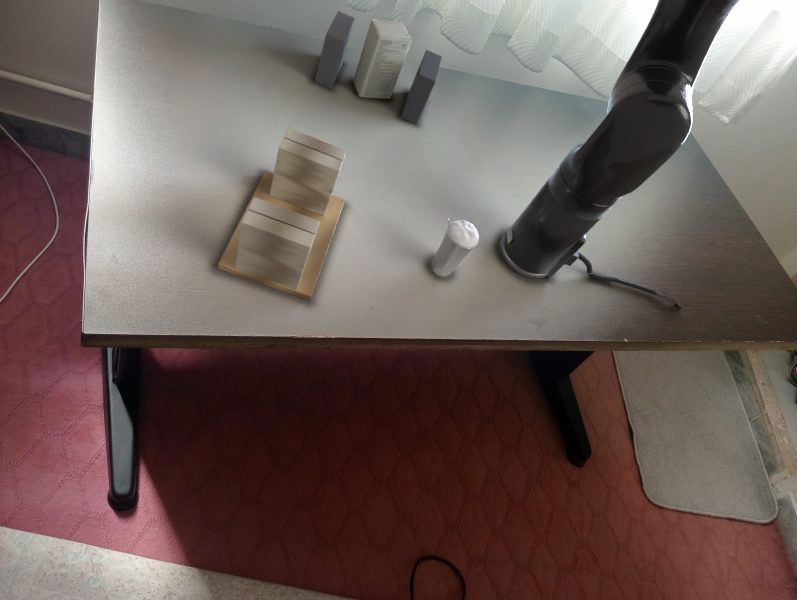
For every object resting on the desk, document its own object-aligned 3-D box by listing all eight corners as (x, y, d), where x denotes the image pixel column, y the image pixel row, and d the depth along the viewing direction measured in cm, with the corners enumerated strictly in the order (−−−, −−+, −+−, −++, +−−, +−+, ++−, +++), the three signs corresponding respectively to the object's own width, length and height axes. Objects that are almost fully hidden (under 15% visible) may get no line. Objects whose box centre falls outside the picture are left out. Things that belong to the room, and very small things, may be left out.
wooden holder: (343, 205, 80) (361, 155, 72) (309, 300, 69) (326, 254, 61) (264, 175, 78) (274, 120, 70) (217, 268, 67) (222, 217, 59)
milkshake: (421, 251, 80) (448, 206, 72) (454, 259, 81) (484, 216, 73) (421, 275, 77) (448, 232, 69) (455, 283, 79) (486, 242, 71)
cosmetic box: (383, 83, 99) (405, 22, 89) (390, 100, 97) (414, 39, 87) (351, 80, 96) (370, 17, 86) (358, 98, 94) (378, 34, 85)
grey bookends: (423, 98, 100) (442, 56, 93) (416, 124, 96) (435, 81, 89) (326, 57, 97) (338, 10, 90) (314, 81, 93) (325, 34, 85)
